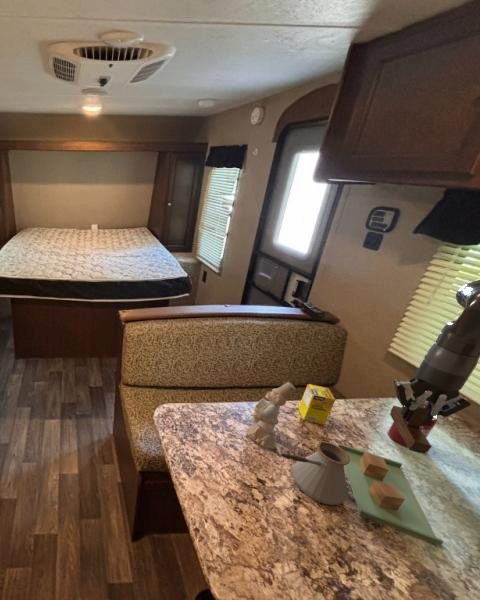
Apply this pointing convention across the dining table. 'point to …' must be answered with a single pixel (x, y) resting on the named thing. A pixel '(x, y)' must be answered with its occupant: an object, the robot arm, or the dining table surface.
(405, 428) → the brown wooden t-shape
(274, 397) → the figurine
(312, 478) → the coffee pot
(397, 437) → the soda can
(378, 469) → the cork cube
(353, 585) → the dining table surface
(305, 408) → the supplement box
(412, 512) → the tray
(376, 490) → the cork cube
